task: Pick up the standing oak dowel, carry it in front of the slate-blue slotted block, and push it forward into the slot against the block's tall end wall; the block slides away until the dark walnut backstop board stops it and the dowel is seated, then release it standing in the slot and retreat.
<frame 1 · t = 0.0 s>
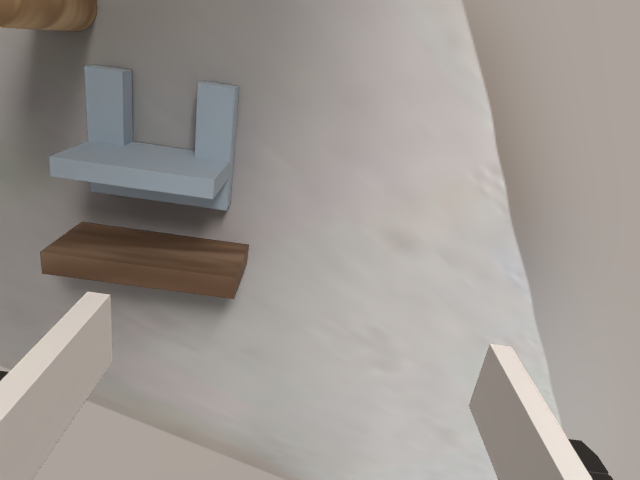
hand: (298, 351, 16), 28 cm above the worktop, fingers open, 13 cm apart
fork block: (151, 147, 37), point 4 cm above the worktop, slide at 0.0 cm
dowel: (69, 1, 37), on the worktop
backstop board: (165, 243, 45), on the worktop
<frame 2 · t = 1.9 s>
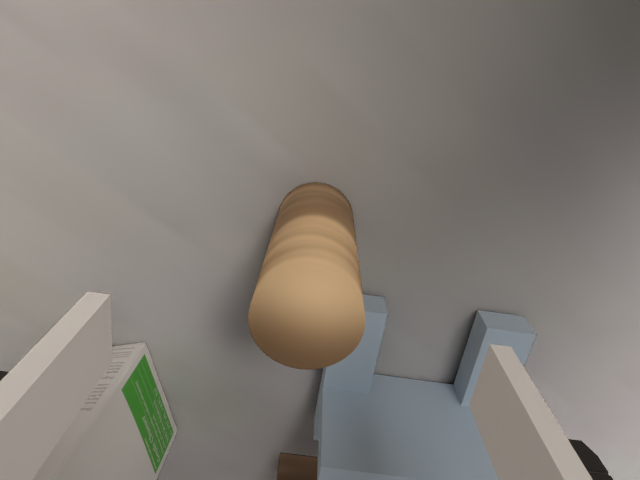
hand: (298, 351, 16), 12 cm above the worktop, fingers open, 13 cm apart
skincare box: (119, 388, 33), on the worktop
fork block: (423, 413, 28), point 4 cm above the worktop, slide at 0.0 cm
dowel: (315, 218, 28), on the worktop
backstop board: (382, 475, 36), on the worktop
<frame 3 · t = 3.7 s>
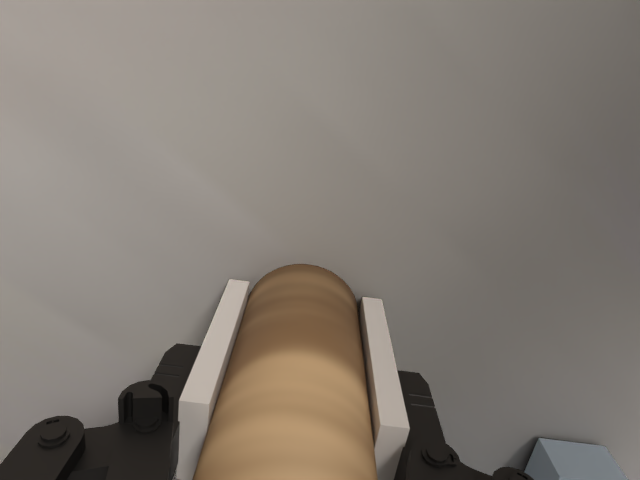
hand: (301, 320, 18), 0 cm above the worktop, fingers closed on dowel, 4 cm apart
dowel: (302, 314, 18), on the worktop, touching gripper
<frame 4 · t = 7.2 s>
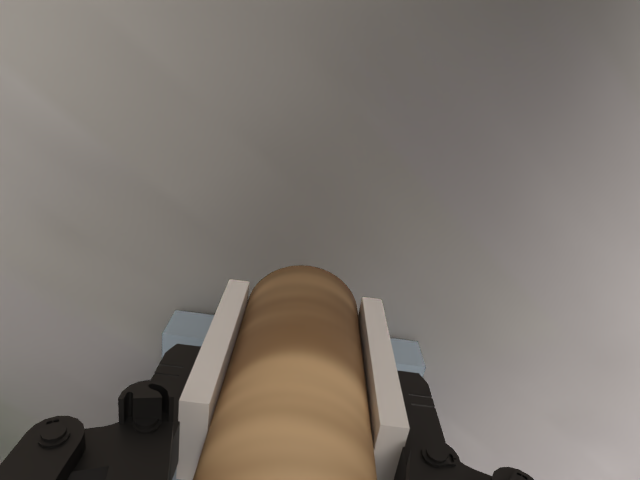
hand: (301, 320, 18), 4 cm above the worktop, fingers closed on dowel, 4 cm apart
fork block: (278, 471, 21), point 4 cm above the worktop, slide at 0.0 cm
dowel: (301, 315, 18), point 4 cm above the worktop, touching gripper
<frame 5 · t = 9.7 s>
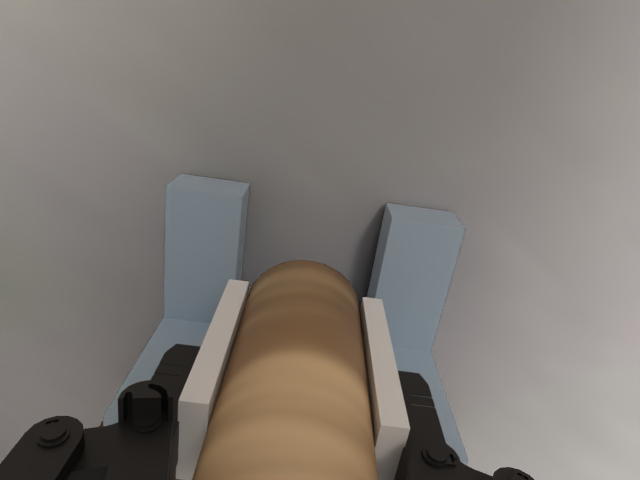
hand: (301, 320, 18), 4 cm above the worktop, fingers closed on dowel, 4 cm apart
fork block: (298, 347, 19), point 4 cm above the worktop, slide at 4.0 cm, touching backstop board, dowel
dowel: (302, 310, 18), point 4 cm above the worktop, touching fork block, gripper
when the fingers open (3 cm above the worktop, at t = 10.9 s): dowel drops 3 cm, on the worktop.
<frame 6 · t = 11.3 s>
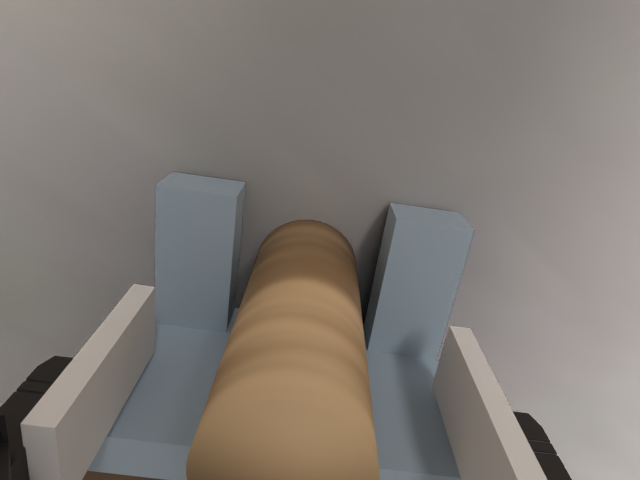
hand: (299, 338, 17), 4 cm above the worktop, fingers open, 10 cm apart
fork block: (296, 356, 18), point 4 cm above the worktop, slide at 4.0 cm, touching backstop board
dowel: (306, 266, 21), on the worktop
backstop board: (286, 405, 24), on the worktop
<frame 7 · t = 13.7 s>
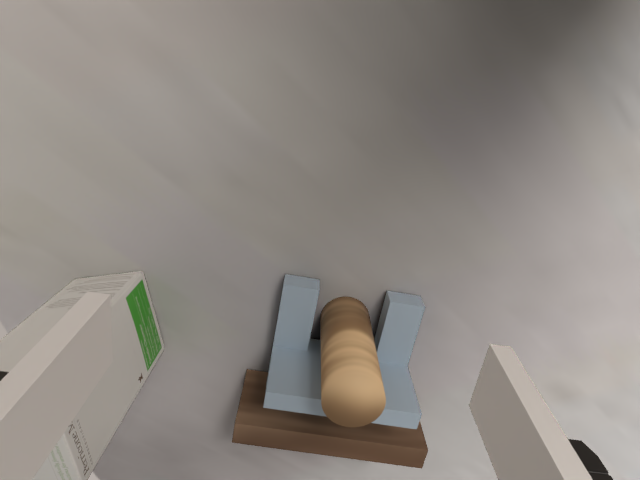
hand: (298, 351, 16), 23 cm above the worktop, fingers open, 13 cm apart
skincare box: (119, 311, 42), on the worktop
fork block: (343, 362, 39), point 4 cm above the worktop, slide at 4.0 cm, touching backstop board
dowel: (344, 318, 42), on the worktop
backstop board: (328, 389, 45), on the worktop
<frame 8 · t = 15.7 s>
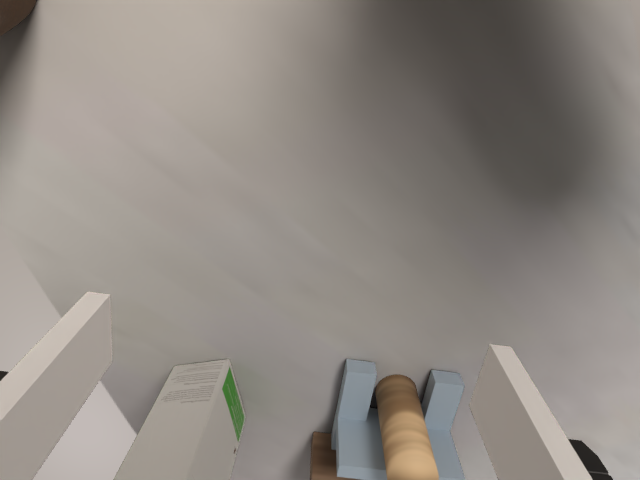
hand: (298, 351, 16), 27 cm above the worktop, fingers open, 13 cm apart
skincare box: (209, 389, 51), on the worktop
fork block: (398, 433, 47), point 4 cm above the worktop, slide at 4.0 cm, touching backstop board
dowel: (395, 391, 50), on the worktop
backstop board: (381, 446, 53), on the worktop
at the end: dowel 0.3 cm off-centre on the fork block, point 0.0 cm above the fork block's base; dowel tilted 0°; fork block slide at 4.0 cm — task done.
